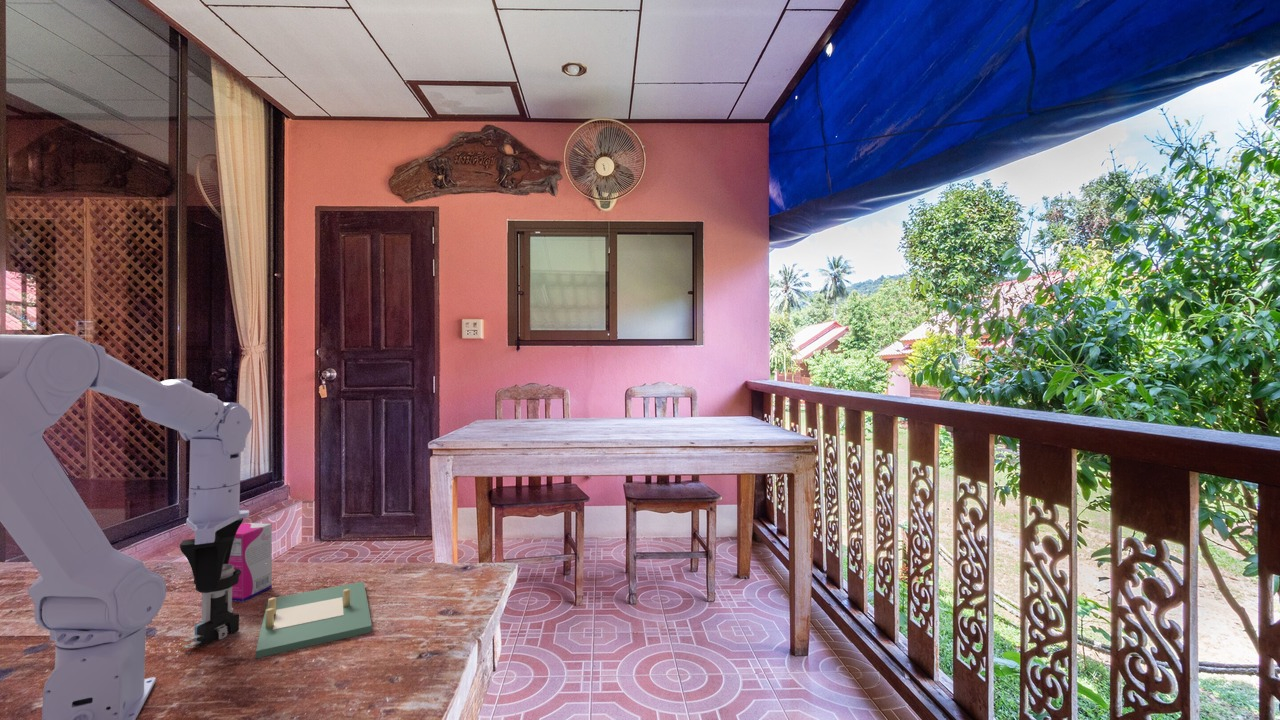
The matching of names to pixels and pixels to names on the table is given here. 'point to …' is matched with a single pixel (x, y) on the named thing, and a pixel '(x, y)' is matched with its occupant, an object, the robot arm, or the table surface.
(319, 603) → the board
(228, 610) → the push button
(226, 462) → the robot arm
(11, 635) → the table surface
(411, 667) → the table surface
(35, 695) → the table surface
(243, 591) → the supplement box
